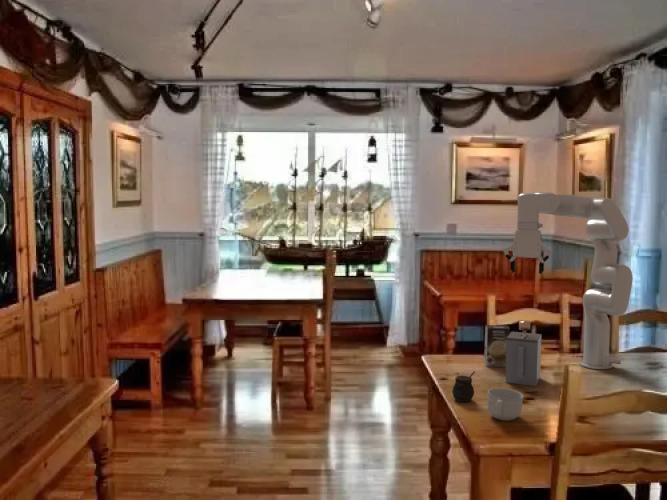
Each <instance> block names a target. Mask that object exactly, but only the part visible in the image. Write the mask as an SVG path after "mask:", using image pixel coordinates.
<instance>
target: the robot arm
mask: <svg viewBox="0 0 667 500" xmlns="http://www.w3.org/2000/svg"><path fill="white" fill-rule="evenodd" d="M540 214H545V215H553V216H558V217H565V218H566V217H570V218H579V219H585V220H586V219H587V222H586V223H585V232H586V235H587V236H588V237H589V239H590V240H591V243H592V244H593V247H594V255H593V261H592V268H591V275H590V280H591V282H592V283H593V284H594V285H597V286H601V287H608V288H612V289H611V290H610V289H609V290H608V289H604V288H603V289H602V288H590V289H588V290H586V291H585V292H584V293H583V296H582V306H583V311H584V328H583V351H582V352H583V356H582V357H583V358H582V359H580V360H579V361H578V365H580V366H581V367H583V368H587V369H594V370H609V369H612V368H613V364H615V365H621V362H622V361H621V360H622V359H621V358H620V359H619V358H617V357H611V355H610V335H611V334H610V331H611V323H610V319H609V317H608V315H609V316H614V317H619V316H620V317H621V316H623V315H625V313H626V312H627V310H628V307H629V304H630V299H631V292H632V286H633V281H634V279H633V277H634V276H633V271H632V269H631V268H630V267H629V266H628V265H625V264H619V263H617V258H618V249H617V245H616V244H615V242H620V241H624V240H626V238H627V237H628V235H629V229H630V228H629V224H628V222H627V219H626V218H625V217H624V214H623V213H622V212H621V210H620V208H619V206H618V205H617V204H616V202H615V201H614V200H613V199H612V198H609V197H590V196H583V195H576V194H566V193H565V194H555V193H553V192H548V191H547V192H537V191H536V192H526V193H525V192H523V193H519V194H518V196H517V225H516V230H515V231H514V236H513V243H512V244H513V245H511V246H509V247H506V248H505V249H503V250H502V252H503V253H504V256H505V258H507V260H509V263H510V269H509V270H510V271H511V273H515V272H516V261H515V260H516V259H517V258H532V259H533V258H535V259H538V261H539V263H538V274H539V275H541V274H542V273H543V272H544V270H545V267H544V266H545V262H546V261H547V260H548V259H550V257H551V256H552V253H553V251H552V250H551V249H549V248H546V247H545V246H543V237H542V231H541V230H539V229H540V228H543V227H544V226H543V223H540V219H539V218H540V216H539V215H540ZM614 241H615V242H614ZM511 250H512V256H511V255H510V254H509V251H511ZM543 252H545V253H546V255H545V256H544V257H543V256H542V255H543Z"/></svg>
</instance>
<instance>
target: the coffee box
mask: <svg viewBox="0 0 667 500" xmlns="http://www.w3.org/2000/svg"><path fill="white" fill-rule="evenodd" d="M484 331H485V333H484V353H483V358H484V360H483V363H484V365H485V366H486V367H491V368H492V367H493V368H506V351H507V337H508V336H509V334H510V333H511V329H510V327H509V326H508V325H498V324H485V330H484Z"/></svg>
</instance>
